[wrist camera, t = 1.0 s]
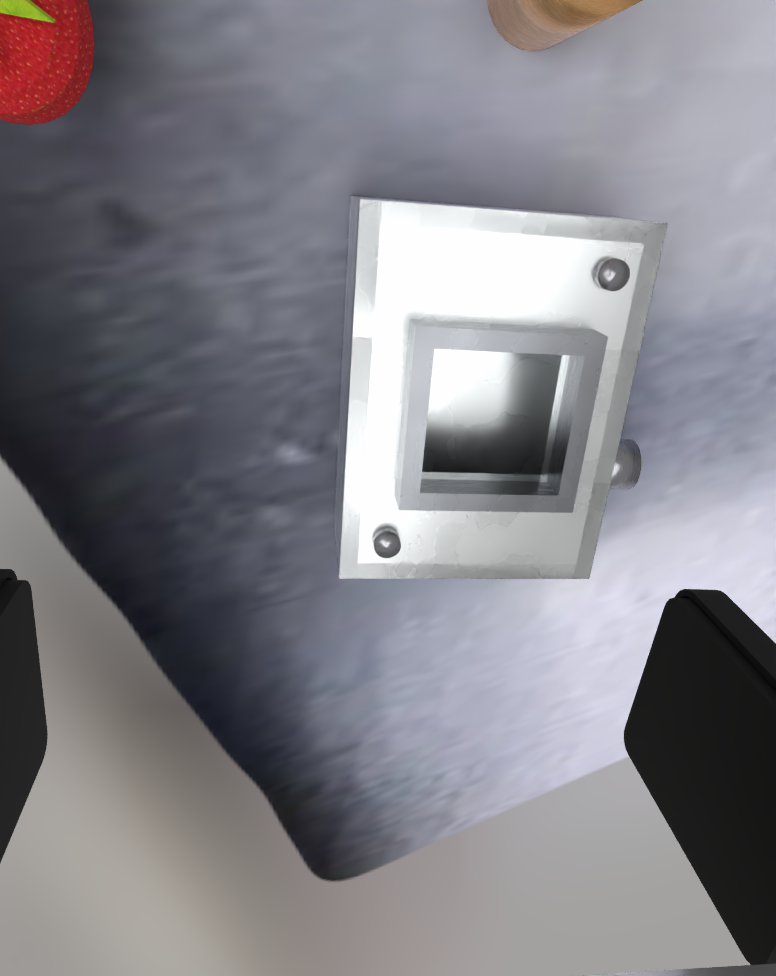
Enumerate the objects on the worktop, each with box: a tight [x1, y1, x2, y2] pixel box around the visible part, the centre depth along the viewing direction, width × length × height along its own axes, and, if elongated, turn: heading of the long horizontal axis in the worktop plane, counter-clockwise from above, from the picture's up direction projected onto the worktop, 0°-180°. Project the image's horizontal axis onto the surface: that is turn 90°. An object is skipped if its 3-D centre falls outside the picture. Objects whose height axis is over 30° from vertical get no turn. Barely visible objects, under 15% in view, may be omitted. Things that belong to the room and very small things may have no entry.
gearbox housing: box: [334, 196, 668, 579], centre depth 31 cm, size 16×14×6 cm
